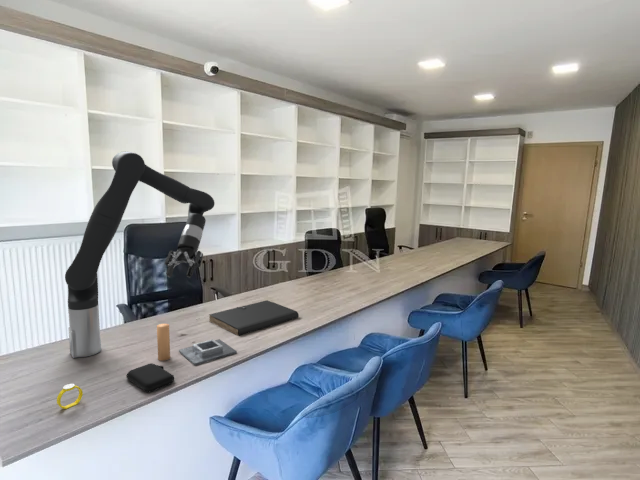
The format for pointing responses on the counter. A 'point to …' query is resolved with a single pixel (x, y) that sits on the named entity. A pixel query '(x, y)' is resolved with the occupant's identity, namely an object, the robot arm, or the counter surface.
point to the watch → (68, 388)
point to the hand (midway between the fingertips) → (178, 276)
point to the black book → (252, 317)
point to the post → (163, 342)
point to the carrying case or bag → (150, 377)
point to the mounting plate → (207, 351)
